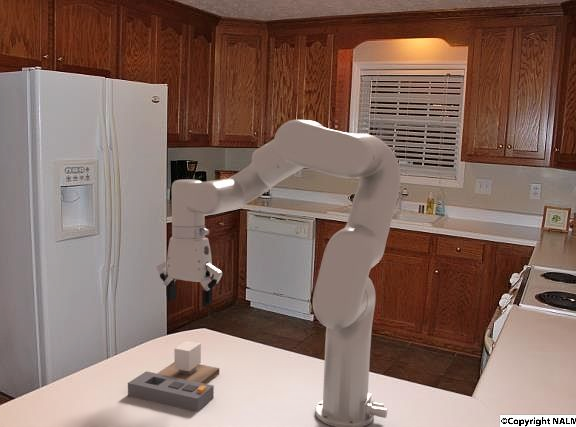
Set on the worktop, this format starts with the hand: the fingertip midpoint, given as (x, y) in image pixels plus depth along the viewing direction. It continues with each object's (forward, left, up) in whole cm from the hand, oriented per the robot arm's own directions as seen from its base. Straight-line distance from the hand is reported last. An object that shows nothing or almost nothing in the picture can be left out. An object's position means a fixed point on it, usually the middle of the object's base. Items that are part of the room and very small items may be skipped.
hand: (189, 303), depth 137 cm
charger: (0, 0, -17) cm, 17 cm away
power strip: (-2, +10, -19) cm, 22 cm away
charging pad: (0, 0, -19) cm, 19 cm away
